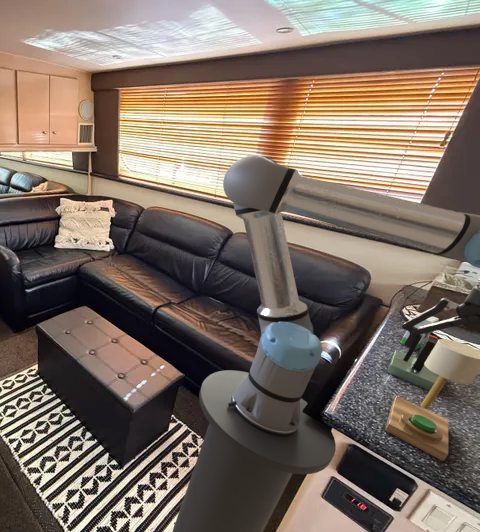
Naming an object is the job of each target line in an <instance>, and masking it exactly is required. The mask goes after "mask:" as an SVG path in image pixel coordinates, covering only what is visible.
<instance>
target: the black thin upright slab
mask: <svg viewBox="0 0 480 532" xmlns="http://www.w3.org/2000/svg"><path fill="white" fill-rule="evenodd" d="M438 340H439V339H438V336H434V335H432V334H430V335H428V337H427V339H426V340H425V342H424V344H423V345H422V346H421V347H420V348H419V350H418V352H417V353H416V355H415V356H414V357H415V359H414V360H413V364H412V368H414V369H416V370H418V371H421V370H422V368H423V366H424V363H425V361H426V360H427V358H428V356H429V355H430V353H431V351H432V350H433V348H434V347H435V345H436V343H437V342H438Z"/></svg>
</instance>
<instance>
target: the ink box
mask: <svg viewBox="0 0 480 532" xmlns="http://www.w3.org/2000/svg"><path fill="white" fill-rule="evenodd" d="M421 313H422V312H420V313H418V314H417V315H415V316H414V317H416V316H418V315H420V314H421ZM439 320H440V318H438V317H435V316H432V317H430V318H428V319H426V320H424V321H422V322H420V323H419V324H417V325H415V326H414V327H416V328H417V327H421V326H425V325H428V324H432V323H436V322H439ZM431 333H432V332H429V333H425V334H421V335H423V336H422V338H421V340H420V342H419V343H418V345H417V348H415V350H417V351H418V349H421V347H422V344H423V343H424V342H425V340H426V339H427V337H428V335H431ZM409 335H410V333H409V331H407V330H406V331H405V333H404V335H403V337H402V338H401V340H400V342H399V343H400V344H402V345H403V346H405V342H406V340H407V338H408V337H409ZM415 350H414V351H415Z"/></svg>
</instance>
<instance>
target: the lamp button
mask: <svg viewBox="0 0 480 532" xmlns="http://www.w3.org/2000/svg"><path fill="white" fill-rule="evenodd" d="M410 422H411V424H413V425H414V426H415V427H417V428H418V429H420V430H422V431H424V432H427V433H430V434H432V433H433V432H434V431H435V429H436V428H437V426H436V424H435V423H434V422H433V421H431V420H430V419H428V418H426V417H424V416H421V415H417V414H415V415H413V417H412V418H411V420H410Z"/></svg>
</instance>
